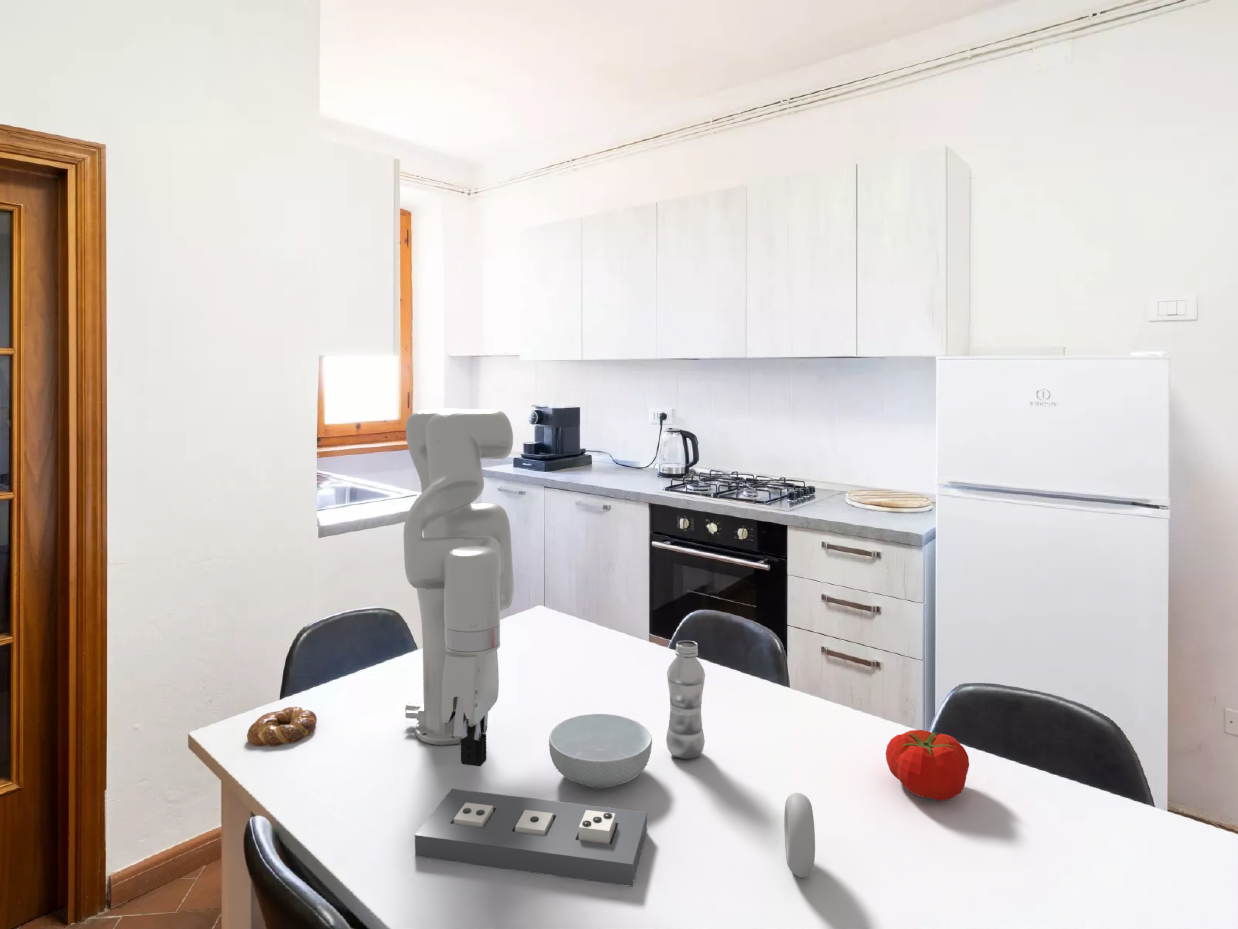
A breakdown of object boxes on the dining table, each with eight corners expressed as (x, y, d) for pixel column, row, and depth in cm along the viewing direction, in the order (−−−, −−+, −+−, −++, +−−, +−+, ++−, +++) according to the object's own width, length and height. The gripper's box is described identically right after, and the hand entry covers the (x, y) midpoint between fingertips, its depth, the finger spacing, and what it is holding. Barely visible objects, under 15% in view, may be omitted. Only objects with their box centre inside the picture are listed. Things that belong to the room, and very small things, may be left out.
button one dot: (515, 843, 100) (515, 825, 100) (524, 825, 104) (524, 808, 104) (544, 847, 99) (544, 829, 99) (553, 829, 104) (553, 812, 103)
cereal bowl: (573, 814, 109) (574, 769, 109) (534, 764, 124) (534, 724, 123) (670, 787, 117) (671, 745, 116) (622, 743, 132) (622, 706, 131)
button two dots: (453, 835, 102) (453, 817, 102) (465, 818, 106) (465, 801, 106) (482, 838, 101) (482, 821, 101) (493, 821, 105) (493, 804, 105)
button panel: (415, 855, 99) (414, 835, 99) (451, 807, 111) (451, 788, 110) (632, 886, 93) (632, 864, 93) (646, 832, 105) (647, 812, 105)
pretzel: (256, 757, 126) (255, 736, 126) (239, 734, 134) (238, 715, 134) (326, 735, 134) (325, 716, 134) (306, 715, 142) (306, 697, 142)
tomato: (904, 760, 127) (907, 711, 126) (980, 788, 118) (983, 736, 117) (867, 789, 117) (869, 737, 116) (947, 822, 108) (950, 766, 107)
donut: (781, 845, 102) (784, 777, 101) (807, 847, 102) (809, 779, 101) (787, 892, 92) (790, 817, 91) (815, 895, 92) (818, 820, 91)
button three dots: (578, 843, 98) (578, 826, 98) (585, 826, 103) (586, 808, 102) (609, 847, 98) (609, 829, 97) (615, 829, 102) (615, 812, 101)
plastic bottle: (702, 765, 124) (705, 651, 122) (663, 761, 125) (665, 648, 124) (705, 748, 130) (708, 639, 129) (668, 744, 132) (670, 636, 130)
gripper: (468, 618, 109) (469, 735, 111) (422, 652, 94) (424, 787, 96) (516, 622, 108) (516, 741, 109) (477, 657, 93) (478, 794, 95)
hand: (473, 762), depth 103 cm, fingers closed
